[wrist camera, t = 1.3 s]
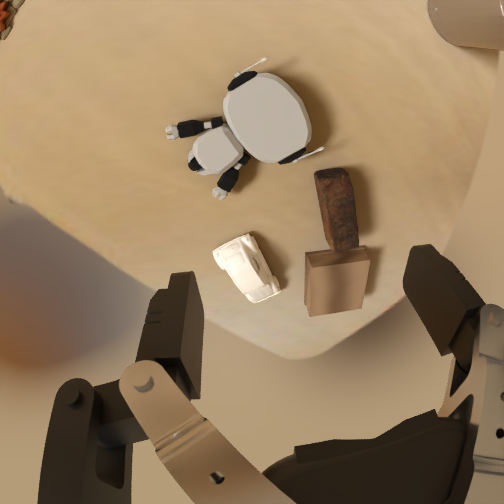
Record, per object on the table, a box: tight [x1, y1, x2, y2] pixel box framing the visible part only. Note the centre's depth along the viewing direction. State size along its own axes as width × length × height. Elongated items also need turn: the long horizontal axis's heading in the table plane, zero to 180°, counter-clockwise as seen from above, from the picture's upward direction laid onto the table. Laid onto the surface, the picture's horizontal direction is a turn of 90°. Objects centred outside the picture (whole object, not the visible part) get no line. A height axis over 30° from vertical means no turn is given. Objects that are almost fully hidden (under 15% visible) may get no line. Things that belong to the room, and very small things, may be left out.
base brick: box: [304, 246, 371, 317], centre depth 45 cm, size 9×10×4 cm
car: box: [212, 233, 281, 303], centre depth 43 cm, size 12×6×5 cm, turn 28°
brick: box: [314, 168, 359, 254], centre depth 38 cm, size 11×4×5 cm, turn 16°
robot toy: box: [165, 57, 325, 200], centre depth 32 cm, size 12×4×15 cm
